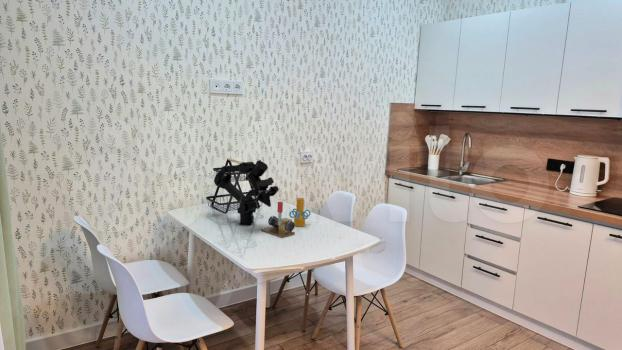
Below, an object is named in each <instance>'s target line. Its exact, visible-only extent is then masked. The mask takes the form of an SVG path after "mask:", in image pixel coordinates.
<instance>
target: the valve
mask: <svg viewBox="0 0 622 350" xmlns="http://www.w3.org/2000/svg"><path fill="white" fill-rule="evenodd" d="M277 222H278V217H277V216H274V215H271V216H269V218H268V227H264V228H261V230H260V231H261V232H263V233H266V234H268V235H269V234H270V235H272V236H275V237H278V238H281V239H285V238H287V237H291V236H294V235H295V234H296V231H295V232H294V229H295V227H296V226H295V225H294V221H293V218H288V217H283V218H282V217H281V222H282V225H280V226H278V225H277Z"/></svg>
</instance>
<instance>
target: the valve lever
mask: <svg viewBox="0 0 622 350" xmlns="http://www.w3.org/2000/svg"><path fill="white" fill-rule="evenodd" d="M283 207H284V202H283V201H277V213H278V217H277V218H278V222H277V225H278V226H280V225H282V222H281V219H282V213H284V212H283V209H284V208H283Z"/></svg>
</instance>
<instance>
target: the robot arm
mask: <svg viewBox="0 0 622 350" xmlns="http://www.w3.org/2000/svg"><path fill="white" fill-rule="evenodd" d="M268 168H269V167H268V164H266V163H265V162H264V161H262V160H261V159H258V160H256V163H254V161H246V162H245V161H244V162H241V163H239V164H235V165H223V166H222V167H221V169H220V170H219V171H217V172H216V174H215V177H214V179H213V183H214V184H215V186H217V187H218V188H220V189H224V190H225V191H226V192H227V193H228V194H230V196H231V197H232V198H233V199H235V200H236V201H237V202H238V206H239V207H237V209H236V210H237V214H240V215H239V223H238V225H239V226H240V225H241V226H251V225H253V224H254V223H255V218H254V217H255V215H254V213H256V210H257V207H258V202H257V201H259V202H261V203H262V204H264V205H266V206H267V207H268V208H270V207H272V203H271V197H274V196H275V195H276V194H277V192H279V191H280V189H279V187H278V186H277V185H273V184H274V182H275V181H274V179H273V177H268V178H267V179H266V178H265V179H261V177H262V176H263V175H264V174H265V173H266V172H267V170H268ZM236 172H237V173H241V174H246V175H245V179H244V181H249V183H250V185H251V187H250V188H251V189H249V191H248V192H246V194H245V193H243V192H242V191H241V190H239V188H237V187H236V186H235V185H234V183H232V173H236ZM269 186H270V187H269ZM254 197H256V198H254Z"/></svg>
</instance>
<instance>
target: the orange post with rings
mask: <svg viewBox="0 0 622 350" xmlns="http://www.w3.org/2000/svg"><path fill="white" fill-rule="evenodd" d="M304 206H305V198H304V197H297V198H296V208H295V207H294V208H292V210H290V211H289V213H288V215H289V218H290V219H293V222H294V225H295V226H294V227H298V228H300V227H301V228H302V227H305V226H306V220H307V219H308V218H309V217H310V216H311V210H309V209H305V207H304ZM292 215H293V216H292Z"/></svg>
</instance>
